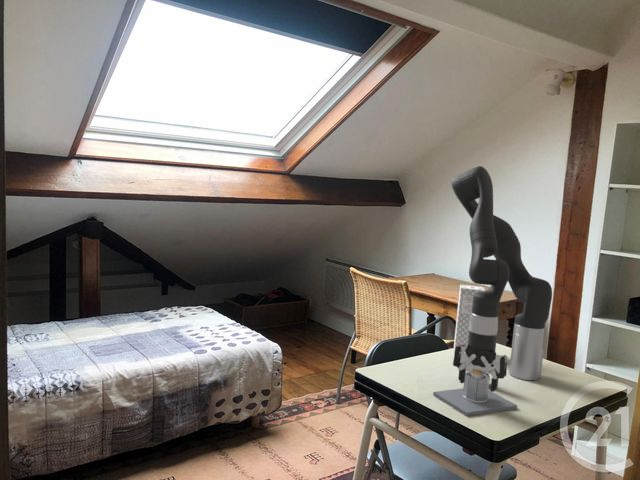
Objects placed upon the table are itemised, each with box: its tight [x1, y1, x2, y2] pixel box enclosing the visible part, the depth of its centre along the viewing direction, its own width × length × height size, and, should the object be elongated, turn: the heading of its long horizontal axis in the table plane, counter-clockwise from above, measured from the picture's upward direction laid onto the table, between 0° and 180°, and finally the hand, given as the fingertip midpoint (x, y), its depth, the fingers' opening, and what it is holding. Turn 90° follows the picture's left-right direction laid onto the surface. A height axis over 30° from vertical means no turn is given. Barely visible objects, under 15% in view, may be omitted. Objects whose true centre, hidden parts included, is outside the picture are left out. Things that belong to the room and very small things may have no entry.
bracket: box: [457, 351, 500, 381], centre depth 154 cm, size 4×10×15 cm
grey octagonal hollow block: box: [463, 371, 490, 401], centre depth 140 cm, size 6×8×6 cm
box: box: [453, 284, 486, 355], centre depth 186 cm, size 8×8×25 cm
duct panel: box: [432, 369, 518, 417], centre depth 139 cm, size 18×14×9 cm
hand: (477, 386), depth 139 cm, fingers open, 8 cm apart
